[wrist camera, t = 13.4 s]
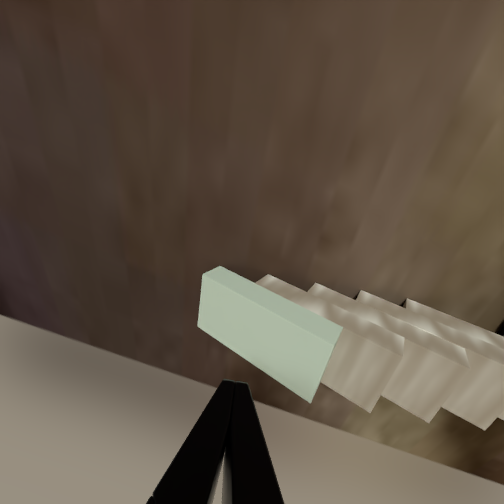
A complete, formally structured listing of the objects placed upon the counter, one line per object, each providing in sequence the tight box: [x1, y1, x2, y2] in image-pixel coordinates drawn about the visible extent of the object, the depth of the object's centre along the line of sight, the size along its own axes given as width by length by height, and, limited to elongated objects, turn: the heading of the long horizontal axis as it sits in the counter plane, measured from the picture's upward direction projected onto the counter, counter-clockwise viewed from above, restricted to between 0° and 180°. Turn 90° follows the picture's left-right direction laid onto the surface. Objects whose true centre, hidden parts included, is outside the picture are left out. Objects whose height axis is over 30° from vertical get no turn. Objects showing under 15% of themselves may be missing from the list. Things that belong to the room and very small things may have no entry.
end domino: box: [403, 299, 504, 420], centre depth 18 cm, size 2×5×10 cm
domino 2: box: [256, 274, 404, 413], centre depth 18 cm, size 2×5×10 cm
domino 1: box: [198, 266, 343, 403], centre depth 17 cm, size 2×5×10 cm
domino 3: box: [308, 283, 470, 423], centre depth 18 cm, size 2×5×10 cm
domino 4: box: [356, 290, 504, 430], centre depth 18 cm, size 2×5×10 cm
